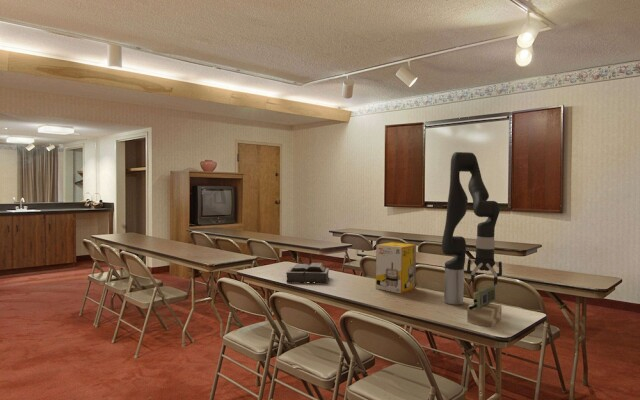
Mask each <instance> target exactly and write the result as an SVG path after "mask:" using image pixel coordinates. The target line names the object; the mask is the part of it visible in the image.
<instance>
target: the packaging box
mask: <svg viewBox="0 0 640 400" xmlns="http://www.w3.org/2000/svg"><path fill="white" fill-rule="evenodd" d="M375 246H376V249H375V250H376V251H375V252H376V255H375V258H376V259H375V289H376V290H379V289H381V290H380V291H385V290H386V291H387V292H390V291H391V292H392V293H397V294H403V293H406V292H409V291H411V290H412V291H413V290H415V289H416V270H417V269H416V265H417V260H416V259H417V244H413V243H412V244H411V243H402V242H390V241H389V242H385V243H380V244H376V245H375Z"/></svg>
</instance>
